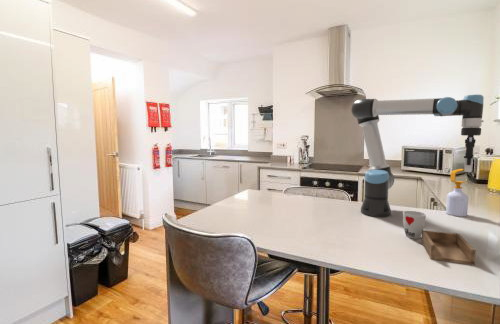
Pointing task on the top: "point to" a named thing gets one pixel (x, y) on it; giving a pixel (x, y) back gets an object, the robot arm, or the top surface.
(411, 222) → the cup
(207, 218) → the top surface
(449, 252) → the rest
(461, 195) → the soap bottle
